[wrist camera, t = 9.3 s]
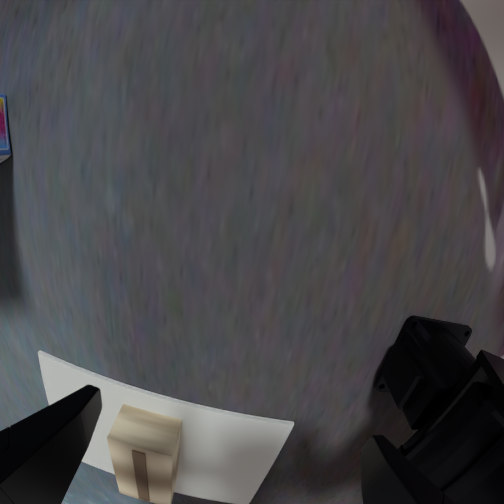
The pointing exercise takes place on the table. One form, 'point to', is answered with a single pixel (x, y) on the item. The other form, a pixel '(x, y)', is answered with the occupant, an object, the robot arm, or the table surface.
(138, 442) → the grooved beige block
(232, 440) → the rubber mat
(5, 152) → the ink cartridge box
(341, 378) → the table surface
